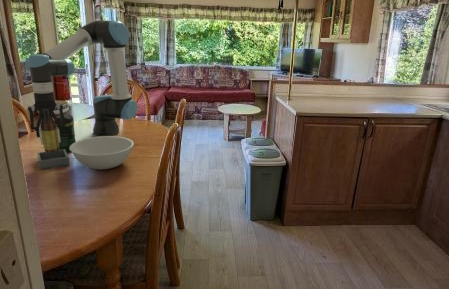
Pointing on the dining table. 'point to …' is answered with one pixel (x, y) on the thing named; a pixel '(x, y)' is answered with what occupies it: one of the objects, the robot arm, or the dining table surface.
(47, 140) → the sauce bottle
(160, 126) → the dining table surface
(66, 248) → the dining table surface
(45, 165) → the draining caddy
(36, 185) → the dining table surface
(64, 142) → the coffee jar
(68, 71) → the robot arm
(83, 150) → the bowl
